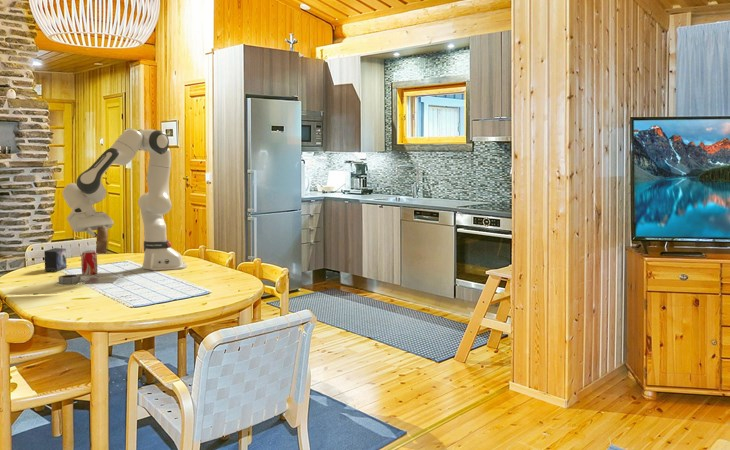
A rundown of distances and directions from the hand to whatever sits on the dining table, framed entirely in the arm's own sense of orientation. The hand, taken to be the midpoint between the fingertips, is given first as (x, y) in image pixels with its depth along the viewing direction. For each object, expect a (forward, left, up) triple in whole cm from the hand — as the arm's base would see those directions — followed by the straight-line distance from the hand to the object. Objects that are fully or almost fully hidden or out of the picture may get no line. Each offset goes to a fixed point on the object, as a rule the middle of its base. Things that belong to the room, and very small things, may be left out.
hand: (100, 235), depth 289 cm
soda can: (+9, -18, -22) cm, 30 cm away
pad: (0, 0, -22) cm, 22 cm away
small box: (+29, -36, -22) cm, 52 cm away
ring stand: (+13, +3, -22) cm, 26 cm away
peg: (0, +2, -8) cm, 8 cm away
